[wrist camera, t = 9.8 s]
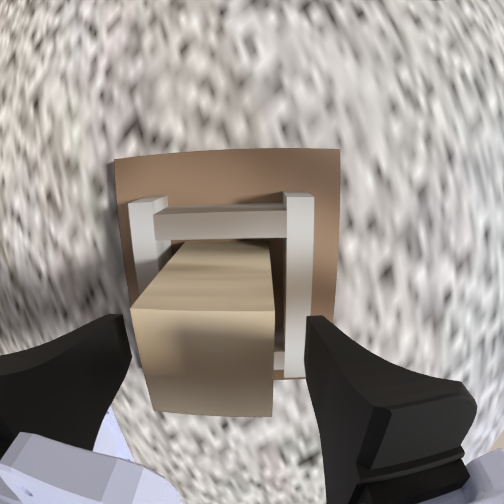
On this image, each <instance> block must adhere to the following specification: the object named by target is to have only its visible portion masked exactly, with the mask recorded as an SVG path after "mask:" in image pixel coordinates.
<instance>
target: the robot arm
mask: <svg viewBox="0 0 504 504" xmlns="http://www.w3.org/2000/svg"><path fill="white" fill-rule="evenodd" d="M131 359H132V354H131V350H130V346H129V342H128V337H127V333H126V329H125V324H124V319H123V315H117V314H108V315H105V316H103V317H100V318H98V319H96V320H94V321H92V322H90V323H88V324H86V325H84V326H82V327H80V328H78V329H76V330H74V331H72V332H70V333H68V334H65V335H63V336H61V337H59V338H57V339H55V340H52V341H50V342H47V343H45V344H42V345H39V346H36V347H34V348H30V349H27V350H23V351H19V352H15V353H11V354H6V355H1V356H0V504H183V502H182V499H181V497H180V495H179V493H178V491H177V490H176V489H175V488H174V487H173V486H172V485H171V484H170V483H169V482H168V480H167V479H166V478H165V477H164V476H162V475H160V474H158V473H157V472H155V471H153V470H151V469H149V468H148V467H146V466H144V465H141V464H138V463H136V462H135V460H134V458H133V456H132V454H131V452H130V449H129V447H128V445H127V443H126V441H125V438H124V436H123V434H122V432H121V429H120V427H119V425H118V422H117V420H116V417H115V415H114V413H113V410H112V408H111V403H112V401H113V399H114V397H115V396H116V394H117V392H118V390H119V388H120V386H121V384H122V382H123V380H124V378H125V376H126V374H127V371H128V368H129V365H130V362H131ZM304 367H305V375H306V382H307V386H308V390H309V394H310V397H311V401H312V405H313V408H314V412H315V416H316V420H317V424H318V428H319V433H320V439H321V447H322V455H323V465H324V475H325V487H326V501H327V504H504V451H503V450H502V448H499V449H496V450H494V451H492V452H490V453H487V454H485V455H483V456H480V457H478V458H476V459H474V460H472V461H471V462H469V463H468V464H467V465H466V466H465V465H464V463H463V461H462V459H461V458H463V456H464V455H465V452H464V450H463V448H462V447H461V443H462V441H463V440H464V438H465V436H466V434H467V433H468V431H469V429H470V427H471V425H472V423H473V421H474V419H475V416H476V412H477V404H476V402H475V399H474V398H473V397H472V395H471V394H470V393H469V391H468V390H467V389H466V387H465V386H464V385H463V383H462V382H460V381H453V380H447V379H441V378H436V377H431V376H428V375H424V374H420V373H417V372H414V371H411V370H408V369H405V368H403V367H400V366H398V365H395V364H393V363H391V362H388V361H386V360H384V359H382V358H381V357H379V356H377V355H375V354H373V353H371V352H370V351H368V350H367V349H365V348H364V347H362V346H361V345H359V344H358V343H356V342H355V341H353V340H352V339H351V338H349V337H348V336H347V335H346V334H344V333H343V332H342V331H341V330H340V329H338V328H337V327H336V326H335V325H334V324H332V323H331V322H330V321H329V320H328V319H327V318H325V317H324V316H323V315H316V316H306V333H305V349H304Z"/></svg>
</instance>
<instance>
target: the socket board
mask: <svg viewBox="0 0 504 504" xmlns="http://www.w3.org/2000/svg"><path fill="white" fill-rule="evenodd" d="M114 168H115V184H116V197H117V208H118V218H119V227H120V235H121V243H122V251H123V258H124V265H125V272H126V278H127V284H128V290H129V296H130V301H131V306H132V305H133V304H134V303H135V301H136V300H137V299H138V298H139V296H140V295H141V294H142V293H143V292H144V290H145V289H146V288H147V287H148V285H149V284H150V283H151V282H152V281H153V279H154V278H155V277H156V276H157V275H158V273H159V272H160V271H161V270H162V269H163V267H164V266H165V265H166V264H167V263H168V261H169V260H170V259H171V258H172V257H173V256H174V254H175V253H176V252H177V251H178V250H179V249H180V247H181V246H182V245H183V244H184V243H185V242H186V241H268V243H269V253H270V264H271V274H272V285H273V296H274V307H275V333H274V375H273V380H287V379H306V375H305V367H304V349H305V333H306V316H316V315H323V316H324V317H325V318H327V319H328V320H329V321H330V322H331V323H332V324H333V315H334V303H335V291H336V277H337V262H338V243H339V218H340V149H311V148H261V149H229V150H209V151H193V152H180V153H168V154H157V155H148V156H138V157H130V158H122V159H114Z"/></svg>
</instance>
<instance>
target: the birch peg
mask: <svg viewBox="0 0 504 504" xmlns="http://www.w3.org/2000/svg"><path fill="white" fill-rule="evenodd" d="M130 312H131V317H132V322H133V327H134V332H135V337H136V342H137V346H138V351H139V355H140V360H141V364H142V368H143V372H144V376H145V380H146V384H147V388H148V391H149V395H150V399H151V402H152V406H153V409H154V411H161V412H170V413H180V414H192V415H207V416H229V417H272V407H273V375H274V333H275V307H274V296H273V285H272V274H271V264H270V253H269V243H268V241H186V242H185V243H184V244H183V245H182V246H181V247H180V249H179V250H178V251H177V252H176V253H175V254H174V256H173V257H172V258H171V259H170V260H169V261H168V263H167V264H166V265H165V266H164V267H163V269H162V270H161V271H160V272H159V273H158V275H157V276H156V277H155V278H154V279H153V281H152V282H151V283H150V284H149V285H148V287H147V288H146V289H145V290H144V292H143V293H142V294H141V295H140V296H139V298H138V299H137V300H136V301H135V303H134V304H133V305H132V306H131V308H130Z"/></svg>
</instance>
